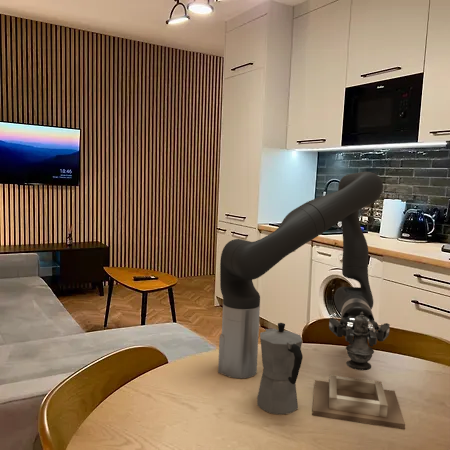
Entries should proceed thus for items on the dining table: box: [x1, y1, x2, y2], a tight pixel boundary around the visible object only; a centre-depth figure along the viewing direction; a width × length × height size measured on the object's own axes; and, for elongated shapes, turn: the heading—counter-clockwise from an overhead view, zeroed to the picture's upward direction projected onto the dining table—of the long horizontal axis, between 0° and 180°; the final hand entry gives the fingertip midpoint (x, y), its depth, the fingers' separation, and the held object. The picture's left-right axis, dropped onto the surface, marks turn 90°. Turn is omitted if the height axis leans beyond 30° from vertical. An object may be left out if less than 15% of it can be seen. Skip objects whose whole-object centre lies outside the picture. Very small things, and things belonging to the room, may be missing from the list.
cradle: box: [312, 374, 406, 430], centre depth 97 cm, size 18×15×4 cm
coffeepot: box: [256, 322, 303, 415], centre depth 95 cm, size 15×9×18 cm, turn 19°
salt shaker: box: [345, 312, 375, 371], centre depth 96 cm, size 6×6×12 cm
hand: (361, 340), depth 94 cm, fingers closed on salt shaker, 3 cm apart
